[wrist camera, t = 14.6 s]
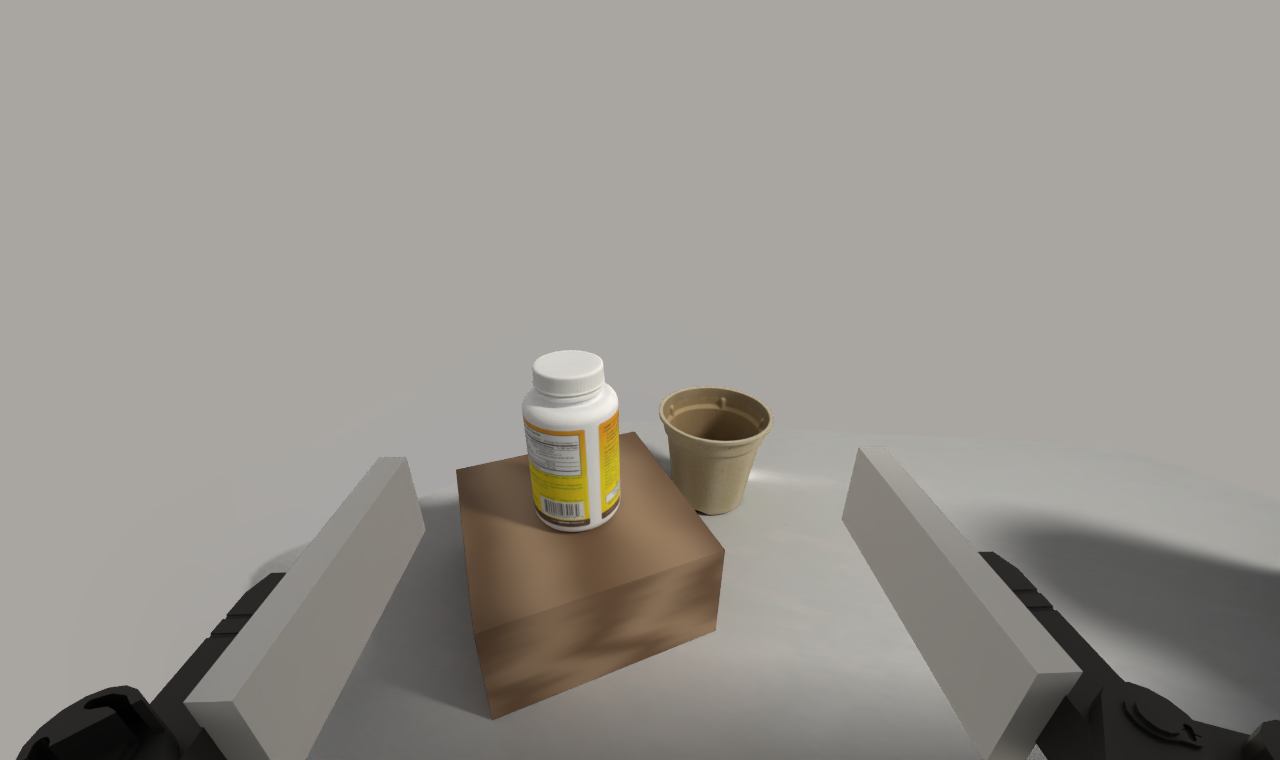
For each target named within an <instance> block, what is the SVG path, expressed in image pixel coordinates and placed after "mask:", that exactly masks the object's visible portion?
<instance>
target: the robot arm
mask: <svg viewBox="0 0 1280 760" xmlns="http://www.w3.org/2000/svg"><path fill="white" fill-rule="evenodd" d="M842 521H843V522H844V524H845V526H846V527H847V529H848V531H849V532H850V534H851V536H852V538H853V539H854V541H855V543H856V544H857V546H858V548H859V549H860V551H861V553H862V555H863V556H864V558H865V560H866V561H867V563H868V565H869V566H870V568H871V570H872V571H873V573H874V575H875V577H876V578H877V580H878V582H879V583H880V585H881V587H882V588H883V590H884V592H885V594H886V595H887V597H888V599H889V600H890V602H891V604H892V605H893V607H894V609H895V610H896V612H897V614H898V616H899V617H900V619H901V621H902V622H903V624H904V626H905V627H906V629H907V631H908V633H909V634H910V636H911V638H912V639H913V641H914V643H915V644H916V646H917V648H918V649H919V651H920V653H921V655H922V656H923V658H924V660H925V661H926V663H927V665H928V666H929V668H930V670H931V672H932V673H933V675H934V677H935V678H936V680H937V682H938V683H939V685H940V687H941V689H942V690H943V692H944V694H945V695H946V697H947V699H948V700H949V702H950V704H951V705H952V707H953V709H954V711H955V712H956V714H957V716H958V717H959V719H960V721H961V722H962V724H963V726H964V728H965V729H966V731H967V733H968V734H969V736H970V738H971V739H972V741H973V743H974V744H975V746H976V748H977V750H978V751H979V753H980V755H981V756H982V758H983V760H1026V758H1027V757H1028V755H1029V754H1030V752H1031V751H1032V749H1033V748H1034V746H1035V745H1036V744H1037V745H1038V746H1039V748H1040V749H1041V751H1042V752H1043V754H1044V755H1045V756H1046V758H1047V759H1048V760H1280V721H1279V720H1272V721H1268V722H1263V723H1262V724H1261V725H1260V726H1259V727H1258V728H1257V729H1256V730H1255V731H1254V732H1253V733H1252V734H1251V735H1247V734H1243V733H1239V732H1236V731H1232V730H1228V729H1224V728H1220V727H1217V726H1213V725H1209V724H1205V723H1202V722H1198V721H1194V720H1192V719H1191V718H1190V717H1189V716H1188V715H1187V714H1186V713H1184V712H1183V711H1182V710H1181V709H1179V708H1178V707H1177V706H1175V705H1174V704H1173V703H1172V702H1170V701H1169V700H1167V699H1166V698H1164V697H1162V696H1160V695H1158V694H1157V693H1155V692H1153V691H1151V690H1150V689H1147V688H1144V687H1142V686H1139V685H1136V684H1133V683H1130V682H1125V681H1124V680H1123V679H1122V678H1120V677H1119V676H1118V675H1117V674H1116V673H1115V672H1114V670H1113V669H1112V668H1111V667H1110V666H1109V665H1108V664H1107V663H1106V662H1105V661H1104V660H1103V659H1102V658H1101V657H1100V656H1099V655H1098V653H1097V652H1096V651H1095V650H1094V649H1093V648H1092V647H1091V646H1090V645H1089V644H1088V643H1087V642H1086V641H1085V640H1084V639H1083V638H1082V636H1081V635H1080V634H1079V633H1078V632H1077V631H1076V630H1075V629H1074V628H1073V627H1072V626H1071V625H1070V624H1069V623H1068V622H1067V621H1066V619H1065V618H1064V617H1063V616H1062V615H1061V614H1060V613H1059V612H1058V611H1057V610H1054V609H1053V606H1052V605H1051V604H1050V602H1049V601H1048V600H1047V599H1046V598H1045V597H1044V596H1043V595H1042V594H1041V593H1038V592H1037V589H1036V588H1035V587H1034V585H1033V584H1032V583H1031V582H1030V581H1029V580H1028V579H1027V578H1026V577H1025V576H1024V575H1023V574H1022V573H1021V572H1020V571H1019V570H1018V569H1017V568H1016V567H1014V566H1013V565H1012V564H1010V563H1009V562H1007V561H1006V560H1004V559H1003V558H1001V557H1000V556H999V555H997V554H996V553H994V552H977V551H976V550H975V549H974V547H973V546H972V545H971V544H970V543H969V542H968V541H967V539H966V538H965V537H964V536H963V535H962V534H961V533H960V531H959V530H958V529H957V528H956V527H955V526H954V525H953V524H952V522H951V521H950V520H949V519H948V518H947V517H946V516H945V514H944V513H943V512H942V511H941V510H940V509H939V508H938V506H937V505H936V504H935V503H934V502H933V501H932V500H931V499H930V497H929V496H928V495H927V494H926V493H925V492H924V491H923V489H922V488H921V487H920V486H919V485H918V484H917V483H916V481H915V480H914V479H913V478H912V477H911V476H910V475H909V474H908V472H907V471H906V470H905V469H904V468H903V467H902V466H901V464H900V463H899V462H898V461H897V460H896V459H895V458H894V456H893V455H892V454H891V453H890V452H889V451H888V450H887V449H886V447H885V446H878V447H859V448H858V452H857V457H856V461H855V465H854V469H853V473H852V478H851V482H850V486H849V490H848V494H847V499H846V503H845V507H844V511H843V516H842ZM425 531H426V528H425V524H424V521H423V517H422V513H421V510H420V506H419V502H418V499H417V495H416V491H415V488H414V484H413V480H412V477H411V473H410V469H409V466H408V462H407V458H406V457H386V458H385V457H384V458H378V460H377V461H376V462H375V464H374V465H373V466H372V467H371V468H370V470H369V471H368V472H367V473H366V475H365V476H364V477H363V479H362V480H361V481H360V482H359V483H358V485H357V486H356V487H355V488H354V490H353V491H352V492H351V493H350V495H349V496H348V497H347V499H346V500H345V501H344V502H343V503H342V505H341V506H340V507H339V509H338V510H337V511H336V512H335V513H334V515H333V516H332V517H331V518H330V520H329V521H328V522H327V523H326V525H325V526H324V527H323V528H322V530H321V531H320V532H319V534H318V535H317V536H316V537H315V538H314V540H313V541H312V542H311V543H310V545H309V546H308V547H307V548H306V550H305V551H304V552H303V553H302V555H301V556H300V557H299V558H298V560H297V561H296V562H295V563H294V565H293V566H292V567H291V568H290V570H289V571H288V572H287V573H271V574H269V575H268V576H267V577H265V578H264V579H263V580H261V581H260V582H259V583H258V584H256V585H255V586H254V587H252V588H251V589H250V590H248V591H247V592H246V593H245V594H244V595H243V596H242V597H241V599H240V600H239V601H238V602H237V603H236V604H235V606H234V607H233V608H232V609H231V610H230V611H229V612H228V614H227V617H226V619H223V620H222V621H221V622H220V623H219V624H218V625H217V626H216V628H215V629H214V630H213V631H212V632H211V636H210V638H206V639H205V640H204V642H203V643H202V644H201V645H200V646H199V647H198V649H197V650H196V651H195V652H194V653H193V655H192V656H191V657H190V658H189V659H188V660H187V661H186V663H185V664H184V665H183V666H182V667H181V669H180V670H179V671H178V672H177V673H176V674H175V675H174V677H173V678H172V679H171V680H170V681H169V682H168V684H167V685H166V686H165V687H164V688H163V689H162V691H161V692H160V693H159V694H158V695H157V696H156V698H155V699H154V700H153V701H152V702H151V703H150V704H149V703H148V702H147V700H146V699H145V698H144V697H143V695H142V694H141V693H140V692H139V690H138V689H135V688H132V687H129V686H118V687H111V688H107V689H104V690H101V691H99V692H96V693H94V694H91V695H89V696H86V697H84V698H83V699H81V700H79V701H78V702H76V703H74V704H72V705H70V706H69V707H67V708H65V709H64V710H62V711H61V712H59V713H58V714H57V715H56V716H54V717H53V718H52V719H51V720H50V721H48V722H47V723H46V724H44V725H43V726H42V727H41V728H39V730H38V731H37V732H36V733H35V734H34V735H33V736H32V737H31V739H29V741H28V742H27V743H26V744H25V745H24V746H23V747H22V749H21V751H20V753H19V755H18V757H17V759H16V760H306V758H307V756H308V754H309V752H310V751H311V749H312V747H313V745H314V743H315V741H316V739H317V737H318V735H319V733H320V731H321V730H322V728H323V726H324V724H325V722H326V720H327V718H328V716H329V714H330V712H331V710H332V709H333V707H334V705H335V703H336V701H337V699H338V697H339V695H340V693H341V691H342V689H343V688H344V686H345V684H346V682H347V680H348V678H349V676H350V674H351V672H352V670H353V668H354V667H355V665H356V663H357V661H358V659H359V657H360V655H361V653H362V651H363V649H364V647H365V646H366V644H367V642H368V640H369V638H370V636H371V634H372V632H373V630H374V628H375V626H376V625H377V623H378V621H379V619H380V617H381V615H382V613H383V611H384V609H385V607H386V605H387V604H388V602H389V600H390V598H391V596H392V594H393V592H394V590H395V588H396V586H397V584H398V583H399V581H400V579H401V577H402V575H403V573H404V571H405V569H406V567H407V565H408V563H409V562H410V560H411V558H412V556H413V554H414V552H415V550H416V548H417V546H418V544H419V542H420V541H421V539H422V537H423V535H424V533H425Z"/></svg>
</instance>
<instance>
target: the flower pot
mask: <svg viewBox="0 0 1280 760" xmlns="http://www.w3.org/2000/svg"><path fill="white" fill-rule="evenodd" d="M659 415H660V419H661V420H662V422H663V423H664V428H665V432H666V434H667V435H668V442H669V452H670V461H671V471H672V481H673V483H674V484H675V485H676V487H677V488H678V489H679V490H680V492H681V493H682V494H683V496H684V497H685V498H686V500H687V501H688V502H689V504H690V505H691V506H692V508H693V509H694V510H698V511H701V512H703V513H705V514H707V515H717V514H723V513H726V512H729V511H731V510H733V509H735V508H736V507H737V506H738V505H739V503H740V501H741V499H742V497H743V493H744V489H745V486H746V483H747V480H748V476H749V473H750V470H751V467H752V464H753V461H754V458H755V455H756V452H757V449H758V446H759V445H760V444H761V443H762V441H763V440H764V437H765V436H766V435H767V434H768V433H769V431H770V430H771V428H772V425H773V414H772V412H771V410H770V409H769V408H768V407H767V405H766V404H764V403H763V402H762V401H760V400H759V399H757V398H755V397H753V396H751V395H749V394H746V393H744V392H741V391H738V390H734V389H730V388H725V387H716V386H713V387H711V386H703V387H702V386H697V387H691V388H686V389H682V390H678V391H676V392H673V393H671V394H669V395H668V396H667V397H666V398H664V399H663V401H662V402H661V403H660V406H659Z"/></svg>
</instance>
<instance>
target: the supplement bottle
mask: <svg viewBox="0 0 1280 760" xmlns="http://www.w3.org/2000/svg"><path fill="white" fill-rule="evenodd" d="M532 369H533V386H534V388H533V389H531V391H529V392H528V393H527V395H526V396H525V398H524V400H523V404H522V410H523V419H524V426H525V435H526V442H527V450H528V459H529V467H530V474H531V482H532V490H533V498H534V505H535V510H536V512H537V514H538V516H539V518H540V519H541V520H542V521H543V522H544V523H545V524H547V525H548V526H550V527H552V528H554V529H557V530H561V531H566V532H580V531H586V530H590V529H593V528H596V527H598V526H600V525H602V524H603V523H605V522H606V521H608V520H609V519H610V518H611V517H612V516H613V515H614V514H615V512H616V510H617V509H618V506H619V503H620V457H619V412H618V398H617V395H616V392H615V391H614V390H613V388H611V386H609V385H608V384H606V383H605V377H604V368H603V361H602V359H601V358H600V357H599V356H597V355H595V354H593V353H590V352H585V351H577V350H566V351H557V352H553V353H549V354H546V355H543V356H541V357H540V358H538V359H537V360H536V361H535V362H534V363H533V368H532Z"/></svg>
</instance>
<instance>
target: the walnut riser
mask: <svg viewBox="0 0 1280 760" xmlns="http://www.w3.org/2000/svg"><path fill="white" fill-rule="evenodd" d="M619 457H620V503H619V506H618V509H617V510H616V512H615V514H614V515H613V516H612V517H611V518H610V519H609V520H608V521H606V522H605V523H603V524H602V525H600V526H598V527H596V528H593V529H590V530H586V531H580V532H566V531H561V530H557V529H554V528H552V527H550V526H548V525H547V524H545V523H544V522H543V521H542V520H541V519H540V518H539V516H538V514H537V512H536V510H535V505H534V498H533V490H532V482H531V474H530V467H529V459H528V454H527V455H523V456H518V457H514V458H509V459H504V460H500V461H495V462H490V463H485V464H481V465H476V466H471V467H467V468H462V469H457V470H456V474H457V483H458V493H459V502H460V511H461V521H462V530H463V539H464V549H465V558H466V567H467V577H468V586H469V595H470V605H471V614H472V623H473V632H474V638H475V643H476V647H477V652H478V656H479V661H480V665H481V670H482V675H483V679H484V684H485V688H486V693H487V698H488V702H489V707H490V711H491V716H492V720H493V719H496V718H498V717H501V716H503V715H506V714H508V713H511V712H513V711H516V710H518V709H521V708H523V707H526V706H528V705H531V704H533V703H536V702H538V701H541V700H543V699H546V698H548V697H551V696H553V695H556V694H558V693H561V692H563V691H566V690H568V689H571V688H573V687H576V686H578V685H581V684H583V683H586V682H588V681H591V680H593V679H596V678H598V677H601V676H603V675H606V674H608V673H611V672H613V671H616V670H618V669H621V668H623V667H626V666H628V665H631V664H633V663H636V662H638V661H641V660H643V659H645V658H648V657H650V656H653V655H655V654H658V653H660V652H663V651H665V650H668V649H670V648H673V647H675V646H678V645H680V644H683V643H685V642H688V641H690V640H693V639H695V638H698V637H700V636H703V635H705V634H708V633H710V632H713V631H715V630H716V622H717V613H718V605H719V596H720V588H721V579H722V571H723V562H724V554H725V550H724V548H723V547H722V546H721V544H720V543H719V542H718V540H717V539H716V538H715V536H714V535H713V534H712V532H711V531H710V530H709V529H708V527H707V526H706V525H705V523H704V522H703V521H702V519H701V518H700V517H699V515H698V514H697V513H696V511H695V510H694V509H693V508H692V506H691V505H690V504H689V502H688V501H687V500H686V498H685V497H684V496H683V494H682V493H681V492H680V490H679V489H678V488H677V487H676V485H675V484H674V483H673V481H672V480H671V479H670V477H669V476H668V475H667V473H666V472H665V471H664V469H663V468H662V467H661V465H660V464H659V463H658V462H657V460H656V459H655V458H654V456H653V455H652V454H651V452H650V451H649V450H648V448H647V447H646V446H645V444H644V443H643V442H642V441H641V439H640V438H639V437H638V435H637V434H636V433H635V432H630V433H625V434H621V435H619Z"/></svg>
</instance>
